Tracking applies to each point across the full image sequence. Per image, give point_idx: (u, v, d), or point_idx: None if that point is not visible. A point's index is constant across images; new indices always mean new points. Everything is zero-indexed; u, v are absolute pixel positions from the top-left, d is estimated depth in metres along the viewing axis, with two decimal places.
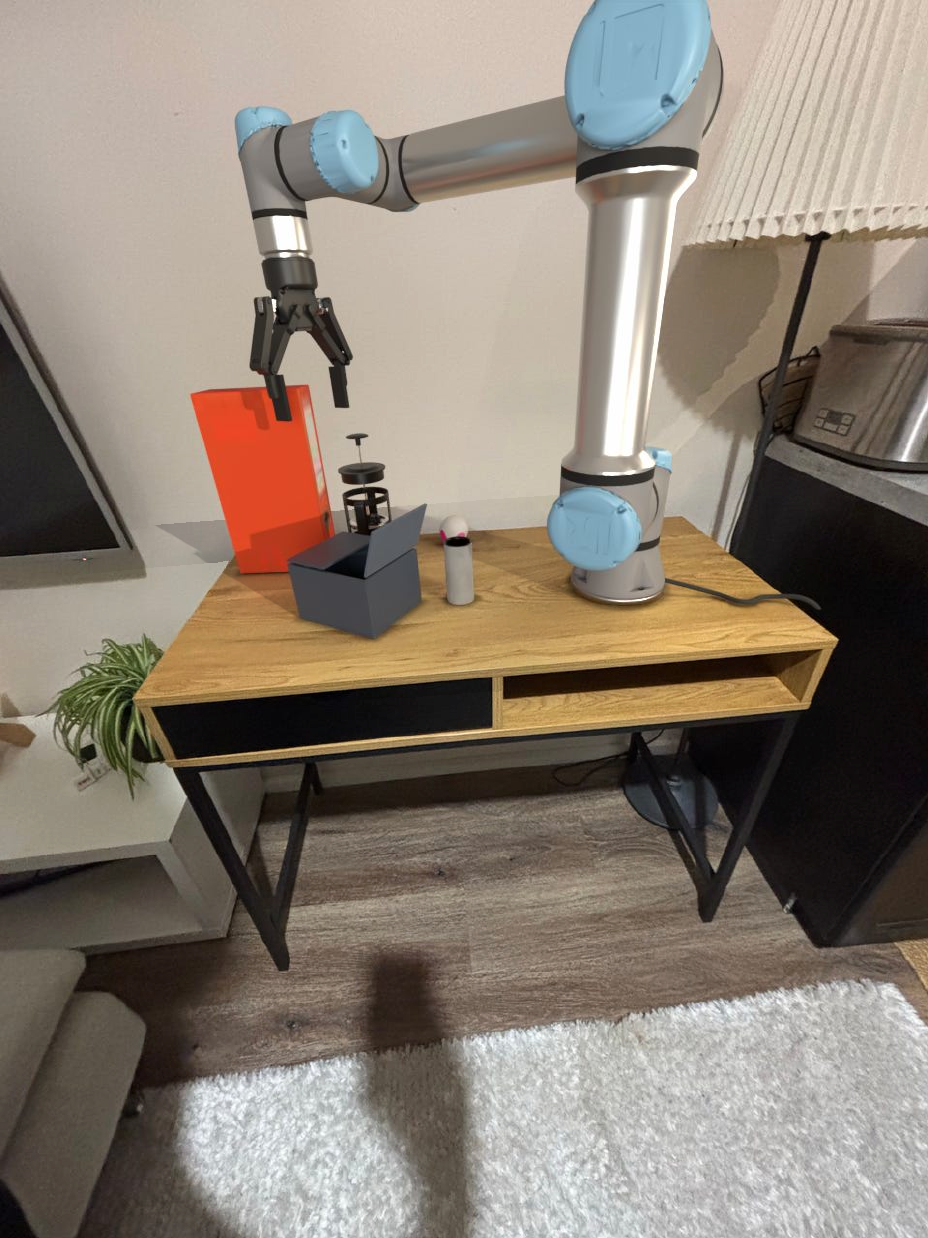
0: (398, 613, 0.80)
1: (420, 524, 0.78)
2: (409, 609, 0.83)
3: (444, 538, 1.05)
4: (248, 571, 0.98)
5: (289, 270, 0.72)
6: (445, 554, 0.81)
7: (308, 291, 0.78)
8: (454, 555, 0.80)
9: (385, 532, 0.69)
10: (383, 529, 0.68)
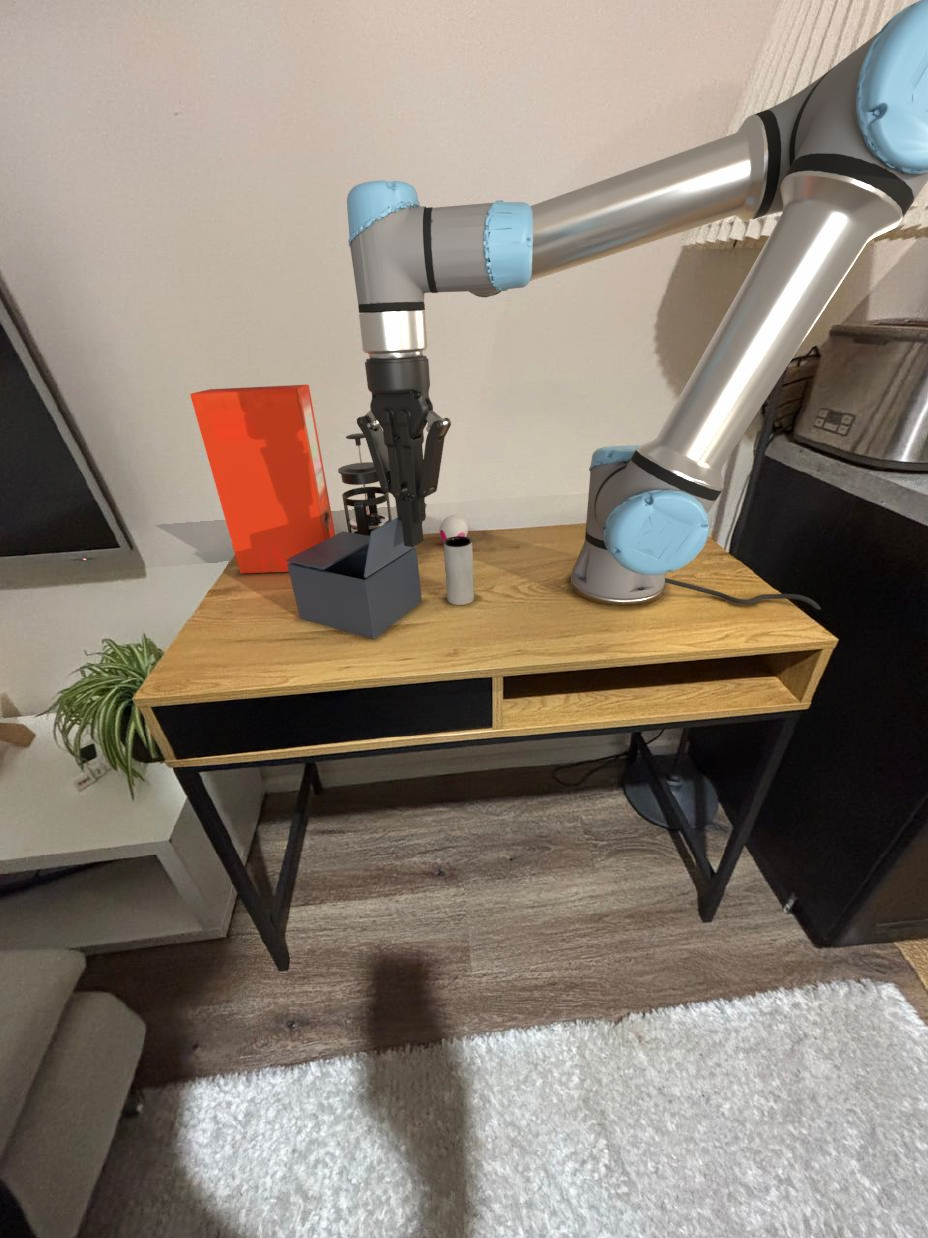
0: (398, 613, 0.80)
1: None
2: (409, 609, 0.83)
3: (444, 538, 1.05)
4: (248, 571, 0.98)
5: (366, 374, 0.61)
6: (445, 554, 0.81)
7: (408, 394, 0.61)
8: (454, 555, 0.80)
9: (385, 532, 0.69)
10: (383, 529, 0.68)
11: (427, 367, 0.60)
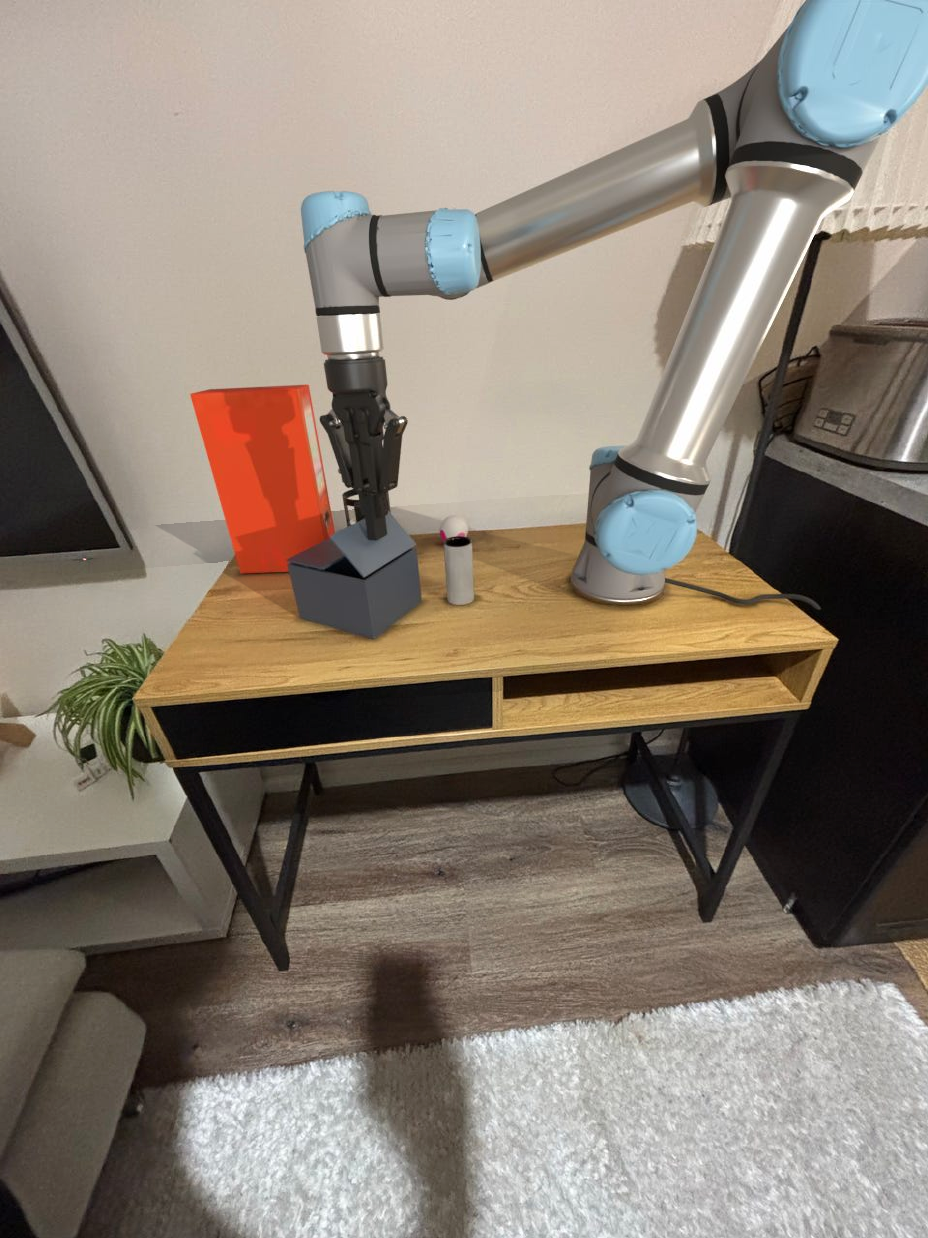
0: (398, 613, 0.80)
1: (397, 525, 0.80)
2: (409, 609, 0.83)
3: (444, 538, 1.05)
4: (248, 571, 0.98)
5: (325, 374, 0.63)
6: (445, 554, 0.81)
7: (365, 393, 0.64)
8: (454, 555, 0.80)
9: (348, 534, 0.73)
10: (341, 531, 0.72)
11: (383, 367, 0.63)
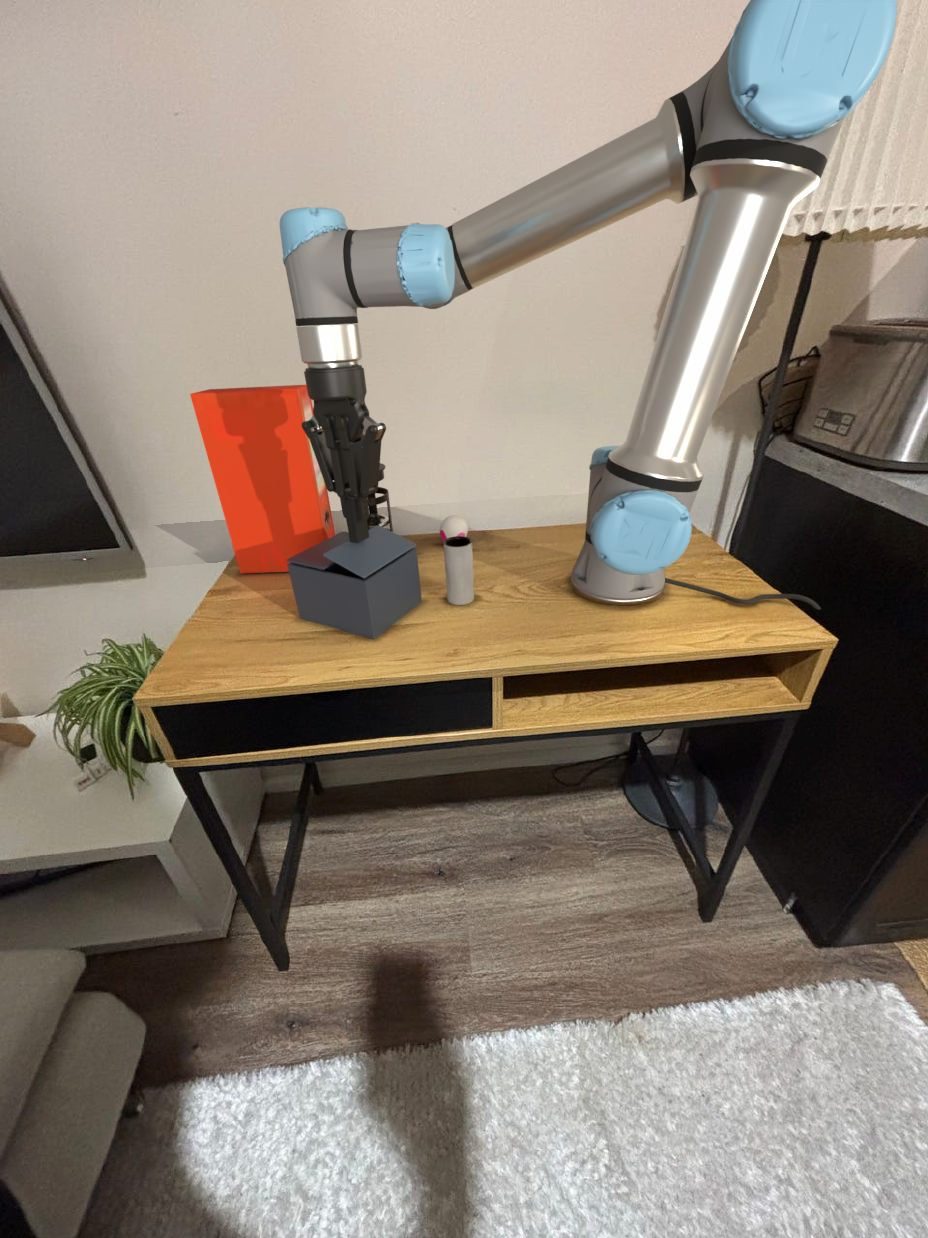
0: (398, 613, 0.80)
1: (393, 534, 0.81)
2: (409, 609, 0.83)
3: (444, 538, 1.05)
4: (248, 571, 0.98)
5: None
6: (445, 554, 0.81)
7: (345, 401, 0.66)
8: (454, 555, 0.80)
9: (341, 549, 0.75)
10: (335, 549, 0.74)
11: (362, 376, 0.65)
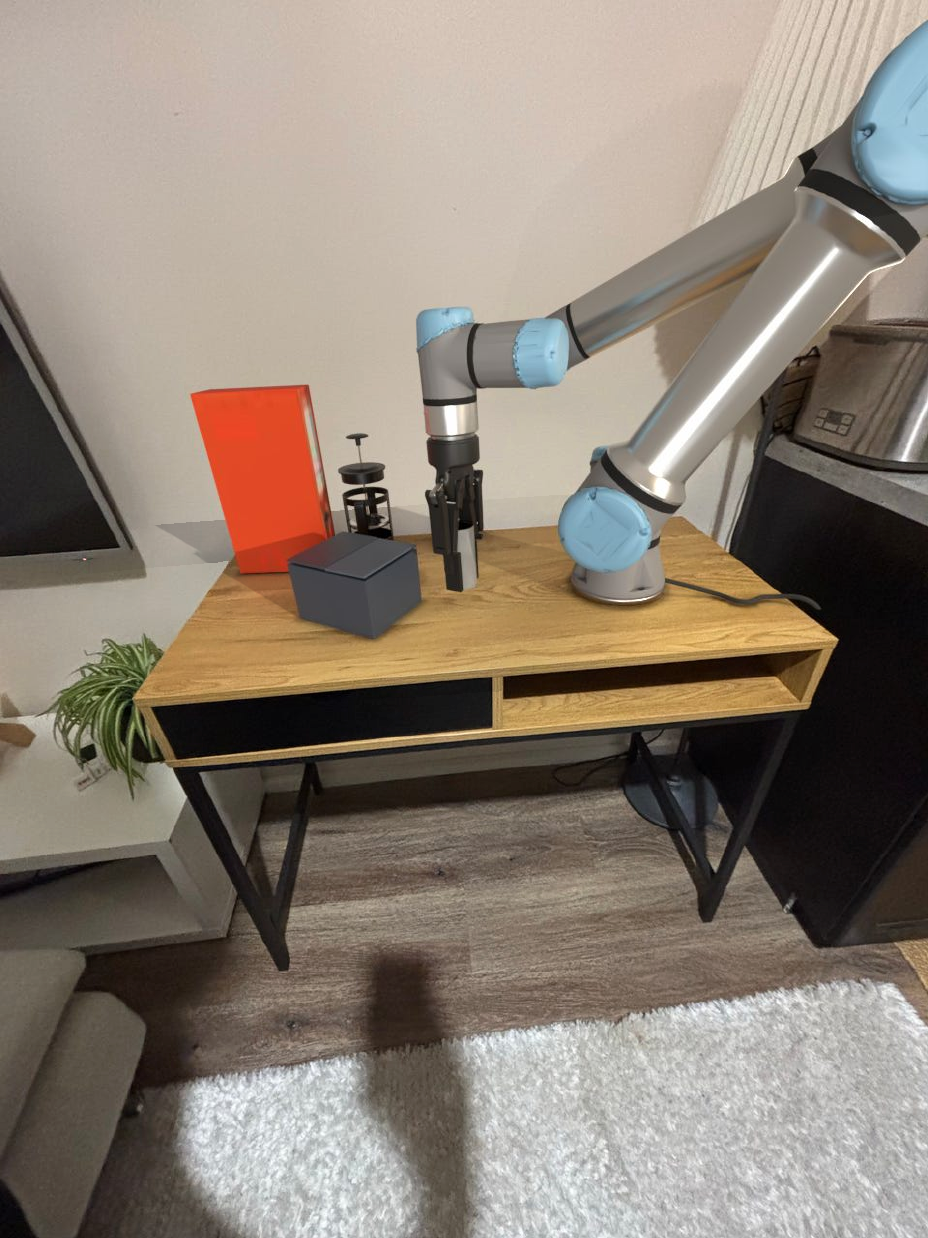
0: (398, 613, 0.80)
1: (392, 541, 0.82)
2: (409, 609, 0.83)
3: None
4: (248, 571, 0.98)
5: (459, 453, 0.70)
6: None
7: None
8: None
9: (342, 562, 0.76)
10: (335, 562, 0.76)
11: None
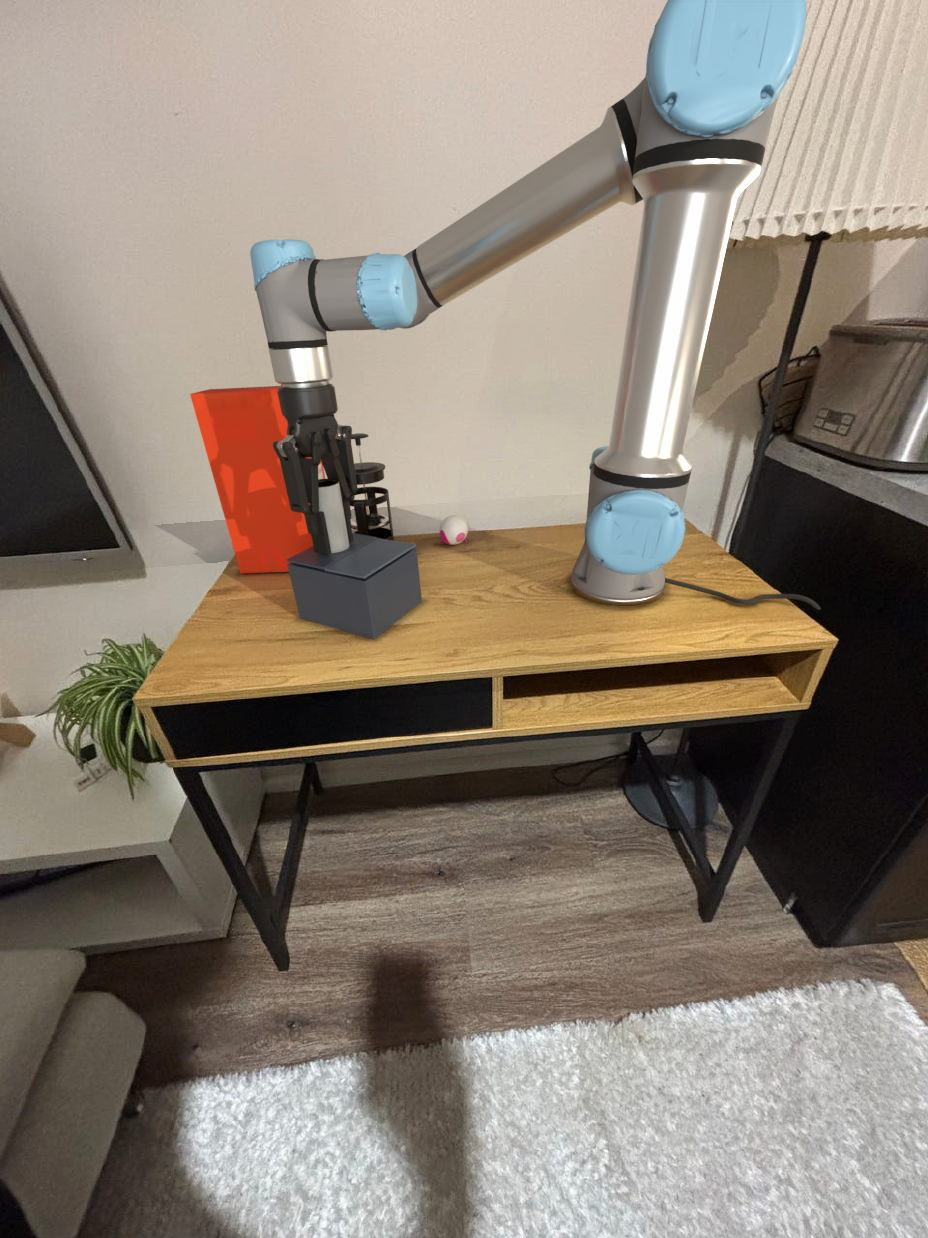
0: (398, 613, 0.80)
1: (392, 541, 0.82)
2: (409, 609, 0.83)
3: (444, 538, 1.05)
4: (248, 571, 0.98)
5: (307, 402, 0.67)
6: None
7: None
8: None
9: (342, 562, 0.76)
10: (335, 562, 0.76)
11: None
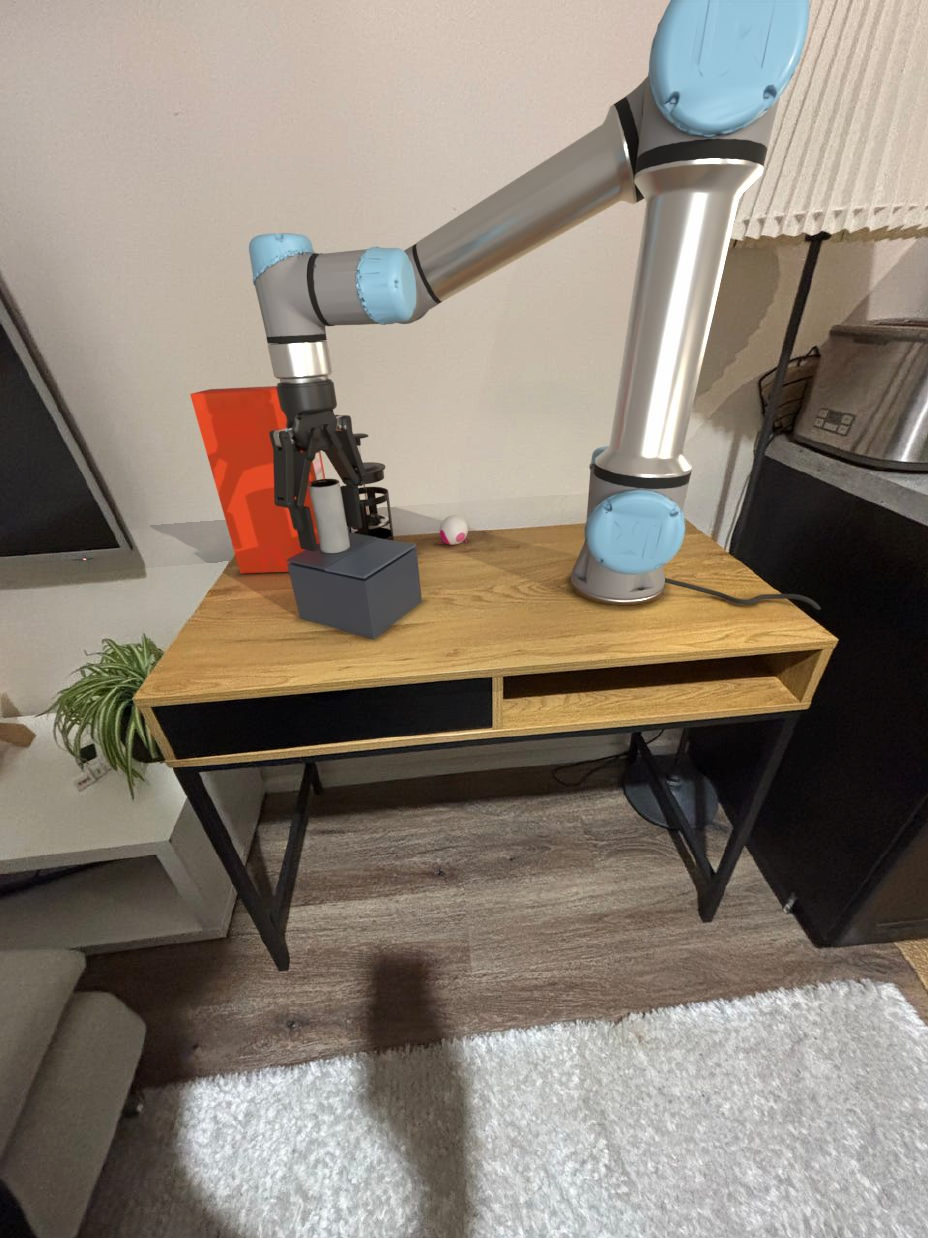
0: (398, 613, 0.80)
1: (392, 541, 0.82)
2: (409, 609, 0.83)
3: (444, 538, 1.05)
4: (248, 571, 0.98)
5: (306, 397, 0.66)
6: (310, 496, 0.76)
7: None
8: (317, 496, 0.74)
9: (342, 562, 0.76)
10: (335, 562, 0.76)
11: None
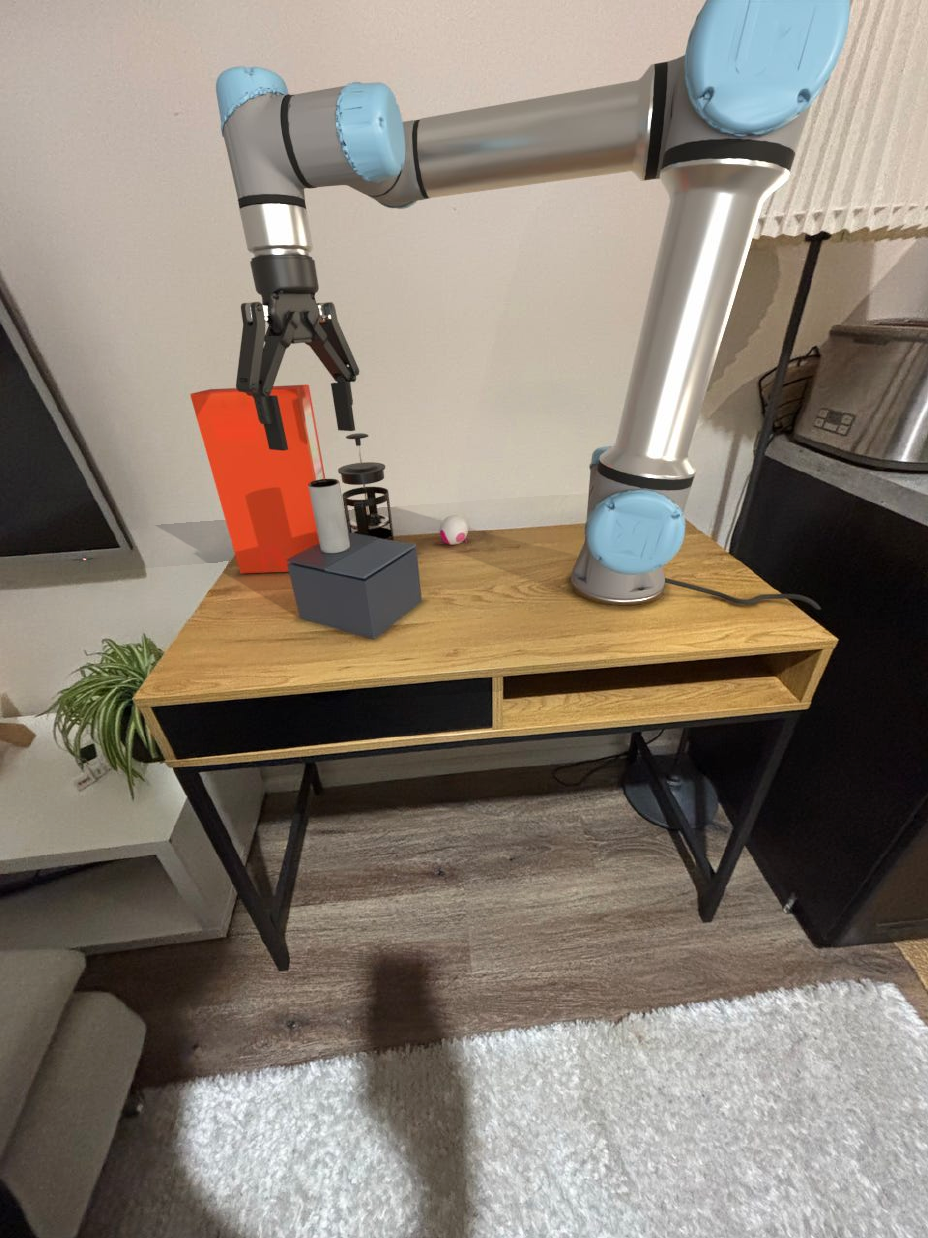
0: (398, 613, 0.80)
1: (392, 541, 0.82)
2: (409, 609, 0.83)
3: (444, 538, 1.05)
4: (248, 571, 0.98)
5: (283, 270, 0.59)
6: (310, 496, 0.76)
7: (307, 295, 0.65)
8: (317, 496, 0.74)
9: (342, 562, 0.76)
10: (335, 562, 0.76)
11: None
